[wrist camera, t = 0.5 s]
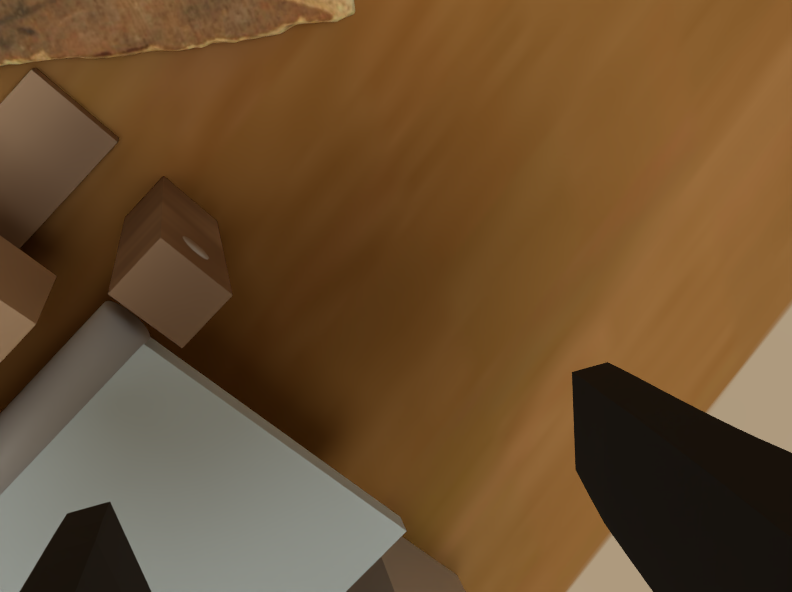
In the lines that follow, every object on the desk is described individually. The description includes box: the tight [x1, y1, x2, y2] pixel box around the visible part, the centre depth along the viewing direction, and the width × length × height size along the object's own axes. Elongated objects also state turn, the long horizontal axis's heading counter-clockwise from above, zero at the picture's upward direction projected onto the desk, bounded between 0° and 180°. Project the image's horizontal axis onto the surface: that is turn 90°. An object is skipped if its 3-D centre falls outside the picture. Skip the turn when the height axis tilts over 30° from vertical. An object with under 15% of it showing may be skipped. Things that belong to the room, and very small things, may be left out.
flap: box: [0, 236, 406, 592], centre depth 17 cm, size 14×9×3 cm, turn 43°
